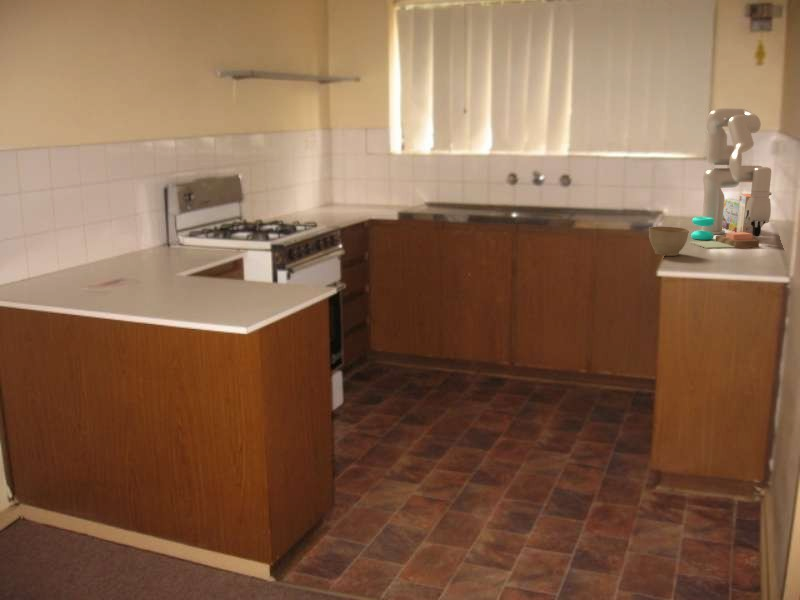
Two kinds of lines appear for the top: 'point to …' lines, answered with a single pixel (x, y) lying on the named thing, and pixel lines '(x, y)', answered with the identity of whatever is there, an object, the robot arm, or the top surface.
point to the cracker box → (741, 223)
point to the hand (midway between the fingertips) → (756, 235)
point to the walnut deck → (738, 242)
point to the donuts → (702, 222)
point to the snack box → (730, 214)
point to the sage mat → (712, 244)
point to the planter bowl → (668, 240)
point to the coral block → (739, 235)
